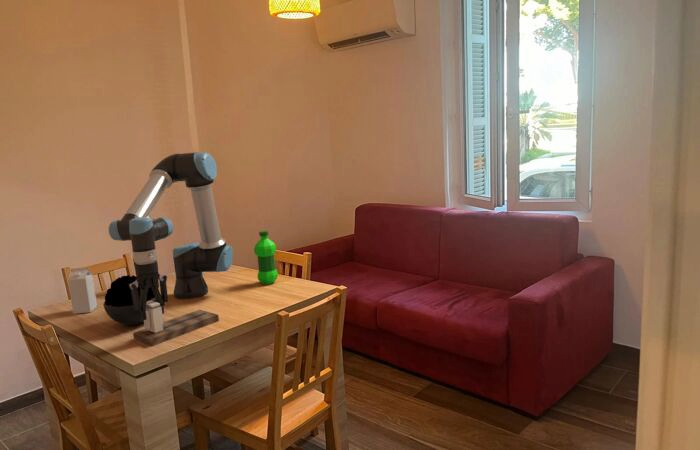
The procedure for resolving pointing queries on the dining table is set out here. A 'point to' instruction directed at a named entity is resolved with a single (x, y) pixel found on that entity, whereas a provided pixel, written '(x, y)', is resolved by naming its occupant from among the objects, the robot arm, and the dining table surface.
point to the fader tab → (154, 316)
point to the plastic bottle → (266, 259)
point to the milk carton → (82, 290)
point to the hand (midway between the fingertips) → (154, 325)
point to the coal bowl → (124, 301)
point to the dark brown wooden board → (176, 327)
